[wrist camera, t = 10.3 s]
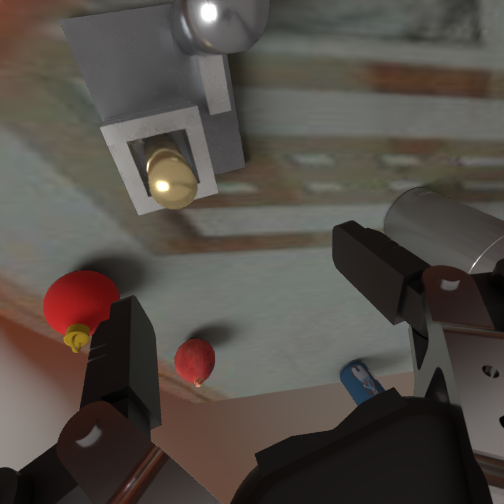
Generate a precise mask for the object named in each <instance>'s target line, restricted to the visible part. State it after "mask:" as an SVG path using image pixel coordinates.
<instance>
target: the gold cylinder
mask: <svg viewBox="0 0 504 504" xmlns="http://www.w3.org/2000/svg"><path fill="white" fill-rule="evenodd" d="M145 157H146V164H147V172H148V179H149V186H150V192H151V195H152V197H153V198H154V200H155V201H156V202H157V203H158V204H160V205H161V206H163V207H165V208H168V209H180V208H183V207H186V206H187V205H189V204H190V203H191V202H192V201H193V200H194V198H195V197H196V194H197V190H198V184H197V180H196V178H195V176H194V174H193V172H192V170H191V169H190V167H189V165H188V163H187V161H186V160H185V158H184V156H183V154H182V153H181V151H180V149H179V147H178V145H177V144H176V142H175V141H174V140H173V139H172V138H170V137H169V136H166V135H155V136H153V137H151V138H150V139H149V140H148V141H147V143H146V145H145Z"/></svg>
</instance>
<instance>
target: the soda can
mask: <svg viewBox="0 0 504 504" xmlns="http://www.w3.org/2000/svg"><path fill="white" fill-rule="evenodd" d="M340 380H341V382H342V383H343V385H344V386H345V387H346V389H347V390H348V392H349V394H350V395H351V396H352V398H353V400H354V401H355V402H356V404H357V406H359V405H360V404H361V403H362V402H364V401H366V400H368V399H370V398H372V397H374V396H376V395H378V394H380V393H382V392H385V389H384V388H383V387H382V386H381V384H380V383H379V382H378V380H377V379H376V378H375V377H374V375H373V374H372V373H371V371H370V370H369V369H368V368H367V366H366V365H365V364H364V363H362V362H360V361H358V360H354V361H351V362H349V363H347V364H346V365H344V366H343V367H342V369H341V370H340Z"/></svg>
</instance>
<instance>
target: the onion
mask: <svg viewBox="0 0 504 504" xmlns="http://www.w3.org/2000/svg"><path fill="white" fill-rule="evenodd" d="M214 365H215V353H214V350H213V348H212V346H211V345H210V344H209V343H208V342H206V341H204V340H201V339H189V340H188V341H186V342H185V343H183V344H182V345H181V346H180V347H179V348H178V350H177V352H176V355H175V368H176V371H177V373H178V374H179V375H180V376H181V377H182V378H183V379H184V380H186V381H188V382H190V383H195V386H196V387H200V386H201V385H202V384H203V382H204V381H205V380H206V379H207V378H208V377H209V376H210V374H211V372H212V370H213V368H214Z"/></svg>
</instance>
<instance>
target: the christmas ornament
mask: <svg viewBox="0 0 504 504" xmlns="http://www.w3.org/2000/svg"><path fill="white" fill-rule="evenodd" d="M118 300H120V295H119V291H118V289H117V287H116V285H115V284H114V283H113V281H112V280H111V279H109V278H108V277H107V276H105V275H103V274H101V273H98V272H95V271H89V270H82V271H75V272H71V273H69V274H66V275H64V276H62V277H61V278H59V279H58V280H57V281H55V282H54V283H53V284H52V285H51V287H50V288H49V289H48V291H47V293H46V295H45V298H44V302H43V312H44V316H45V318H46V320H47V322H48V324H49V325H50V326H51V327H52V328H53V329H54V330H56V331H57V332H59V333H61V334H63V335H65V336H64V342H65V343H66V344H67V345H68V346H71V347H72V350H73V352H75V353H77V352H79V351H80V349H81V346H82V345H85V344H86V343H87V342H88V340H89V336H90V335H93V333H94V332H95V330H96V328H97V327H98V325H99V323H100V322H101V321H104V320H107V319H109V315H110V306H111V303H112V302H115V301H118ZM75 347H77V350H76V348H75Z"/></svg>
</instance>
